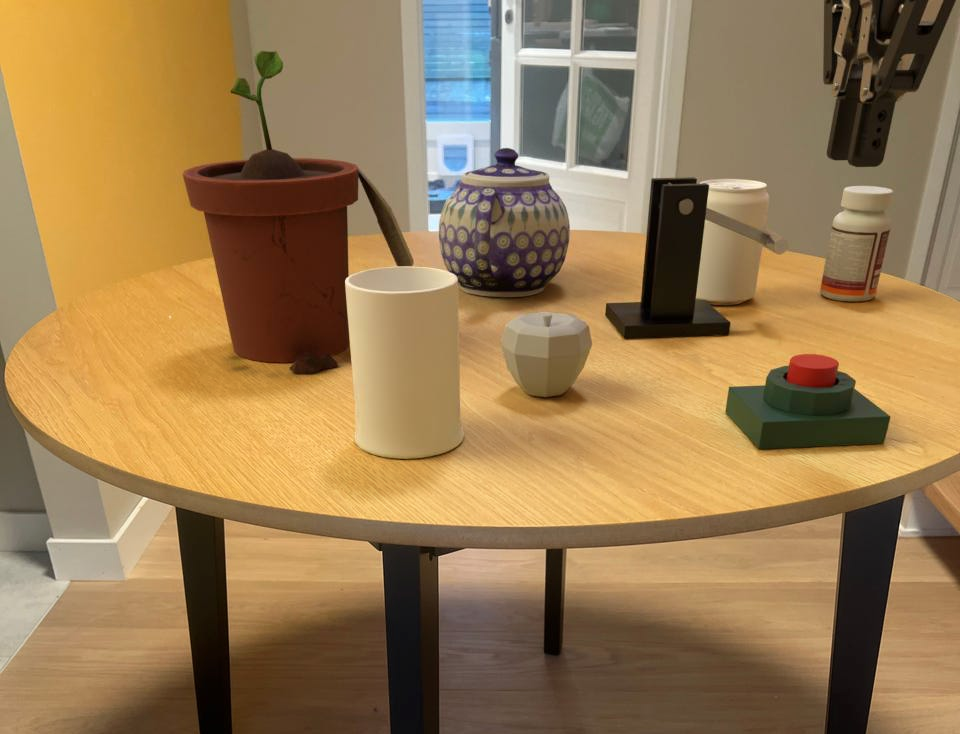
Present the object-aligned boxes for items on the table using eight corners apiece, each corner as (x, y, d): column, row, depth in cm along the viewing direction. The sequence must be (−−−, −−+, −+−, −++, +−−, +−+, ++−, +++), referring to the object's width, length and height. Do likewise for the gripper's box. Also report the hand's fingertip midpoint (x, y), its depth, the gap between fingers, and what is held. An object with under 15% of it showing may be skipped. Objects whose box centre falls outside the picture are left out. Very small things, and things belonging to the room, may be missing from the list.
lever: (763, 250, 99) (774, 227, 98) (781, 261, 95) (793, 237, 94) (653, 204, 95) (663, 179, 94) (667, 213, 91) (678, 187, 90)
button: (823, 374, 75) (827, 352, 74) (842, 390, 72) (846, 367, 71) (779, 376, 75) (783, 354, 74) (796, 391, 72) (800, 369, 71)
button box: (840, 407, 79) (850, 359, 77) (884, 443, 72) (897, 392, 70) (724, 412, 78) (731, 364, 76) (758, 449, 72) (767, 398, 69)
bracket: (702, 311, 104) (720, 173, 96) (729, 335, 96) (750, 187, 89) (605, 315, 103) (614, 175, 95) (623, 338, 96) (635, 190, 88)
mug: (372, 403, 80) (362, 254, 74) (472, 405, 80) (470, 256, 73) (344, 458, 71) (329, 292, 64) (458, 461, 70) (454, 294, 63)
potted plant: (264, 314, 104) (229, 47, 90) (451, 329, 99) (445, 48, 85) (179, 363, 90) (121, 55, 76) (392, 382, 85) (372, 56, 71)
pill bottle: (853, 287, 112) (874, 183, 106) (886, 300, 107) (911, 192, 101) (808, 291, 111) (827, 186, 105) (839, 304, 106) (862, 195, 100)
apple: (593, 407, 79) (598, 328, 76) (499, 406, 79) (500, 328, 76) (586, 376, 86) (590, 302, 82) (499, 376, 86) (500, 302, 82)
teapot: (544, 319, 102) (549, 165, 93) (409, 310, 105) (403, 161, 97) (584, 267, 122) (591, 137, 113) (470, 261, 125) (469, 134, 117)
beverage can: (742, 310, 104) (759, 192, 97) (672, 301, 108) (684, 186, 101) (762, 294, 110) (780, 181, 103) (696, 286, 113) (709, 176, 107)
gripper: (1049, -186, 49) (958, 176, 59) (919, -149, 61) (860, 149, 71) (913, -188, 49) (843, 179, 59) (807, -150, 60) (763, 151, 70)
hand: (853, 161), depth 65 cm, fingers open, 3 cm apart
